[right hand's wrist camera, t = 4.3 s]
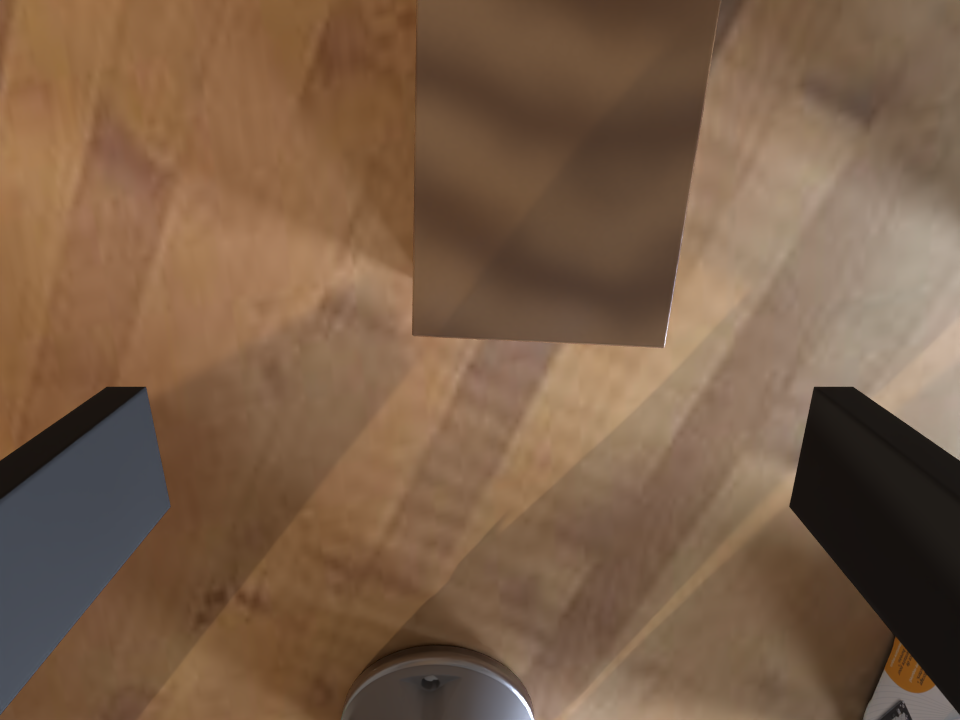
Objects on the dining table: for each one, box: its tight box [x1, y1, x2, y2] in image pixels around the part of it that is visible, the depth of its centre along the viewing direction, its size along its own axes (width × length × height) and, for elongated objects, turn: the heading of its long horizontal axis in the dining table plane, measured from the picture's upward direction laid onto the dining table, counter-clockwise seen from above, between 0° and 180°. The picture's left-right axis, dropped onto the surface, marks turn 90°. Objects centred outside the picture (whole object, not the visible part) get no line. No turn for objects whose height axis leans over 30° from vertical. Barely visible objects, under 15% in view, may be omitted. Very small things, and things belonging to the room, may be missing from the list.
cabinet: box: [412, 0, 721, 348], centre depth 30 cm, size 20×12×10 cm, turn 177°
